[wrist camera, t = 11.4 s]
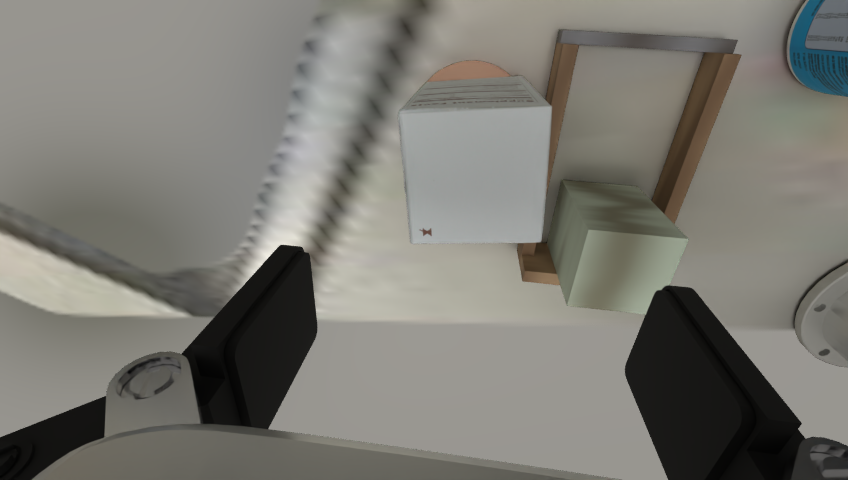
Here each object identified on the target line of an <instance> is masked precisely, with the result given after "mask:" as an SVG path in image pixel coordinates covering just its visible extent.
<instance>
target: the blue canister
mask: <svg viewBox="0 0 848 480" xmlns="http://www.w3.org/2000/svg"><path fill="white" fill-rule="evenodd" d="M787 60H788V64H789V67H790V69H791V71H792V73H793V75H794V76H795V78H796V79H797V80H798V81H799V82H800V83H802V84H803V85H804V86H806V87H808V88H810V89H812V90H815V91H818V92H822V93H827V94H832V95H840V96H845V97H848V0H806V1H805V2H804V4H803V5H802V7H801V8H800V10H799V12H798V14H797V15H796V17H795V19H794V22H793V24H792V26H791V29H790V32H789V36H788V41H787Z"/></svg>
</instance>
